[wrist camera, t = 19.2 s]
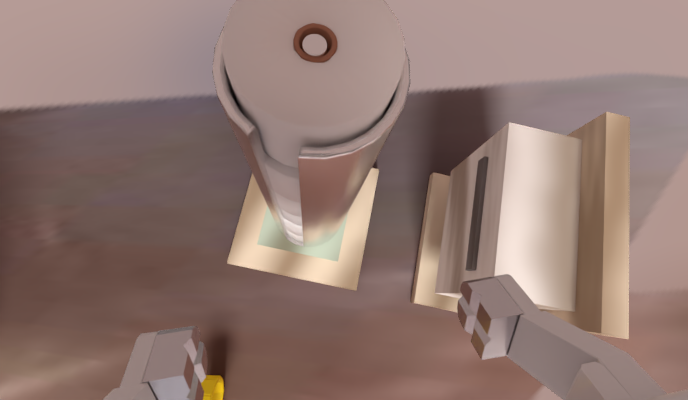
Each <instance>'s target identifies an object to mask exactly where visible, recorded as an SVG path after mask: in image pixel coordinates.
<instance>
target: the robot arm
mask: <svg viewBox="0 0 688 400" xmlns="http://www.w3.org/2000/svg"><path fill="white" fill-rule="evenodd" d="M460 292H461V293H462V295H463V296H462V297H461V298H460V299H459V300H458V305H457V311H458V317H459V320H460V322H461V324H462V326H463V328H464V330H465V331H467V332H469V333H470V334H472V339H471V343H472V344H473V346H474V348H475V350H476V351H477V353H478V355H479V357H480V358H481V360H484V359H490V358H496V357H502V356H507V357H508V358H509V359H511V360H512V361H513V362H515V363H516V364H517V365H518V366H520V367H521V368H522V369H524V370H525V371H526V372H528V373H529V374H530V375H532V376H533V377H534V378H535V379H537V380H538V381H539V382H541V383H542V384H543V385H545V386H546V387H547V388H549V389H550V390H551V391H553V392H554V393H555V394H556V395H558V396H559V397H561V398H562V399H563V400H688V389H686V390H682V391H677V392H673V393H668V394H667V393H666V392H665V391H664V390H663V389H662V388H661V387H660V386H659V385H658V384H657V383H656V382H655V381H654V380H653V379H652V378H651V376H650V375H649V374H648V373H647V372H646V371H645V370H644V369H643V368H642V367H641V366H640V365H639V364H638V363H637V362H636V361H635V360H634V359H633V358H632V357H631V356H630V355H629V354H628V353H626V352H625V351H623V350H621V349H619V348H617V347H615V346H613V345H611V344H609V343H607V342H605V341H603V340H601V339H599V338H597V337H595V336H593V335H591V334H589V333H588V332H586V331H584V330H582V329H580V328H578V327H576V326H574V325H572V324H570V323H568V322H566V321H564V320H562V319H560V318H558V317H556V316H554V315H553V314H551V313H549V312H547V311H540V310H539V309H538V307H537V306H536V305H535V304H534V303H533V301H532V300H531V299H530V298H529V297H528V295H527V294H526V293H525V292H524V291H523V289H522V288H521V287H520V286H519V284H518V283H517V282H516V281H515V280H514V278H513V277H512V276H511V275H509V274H504V275H498V276H493V277H486V278H480V279H474V280H469V281H463V283H462V284H461V287H460ZM199 339H200V332H199V329H198V327H197V326H191V327H184V328H176V329H169V330H162V331H157V332H150V333H143V334H140V336H139V337H138V338H137V339H136V342H135V345H134V348H133V351H132V354H131V356H130V359H129V362H128V365H127V368H126V370H125V373H124V376H123V379H122V382H121V385H120V387H119V388H115V389H113V390H112V391H111V392H110V393H109V394H108V395H107V396H106V397H105V398H104V399H103V400H203V396H204V390H203V388H202V385H201V383H202V382H203V380H204V379H205V378H206V375H207V352H206V348H205V345H204V344H203V343H202V342H200V341H199Z"/></svg>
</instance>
